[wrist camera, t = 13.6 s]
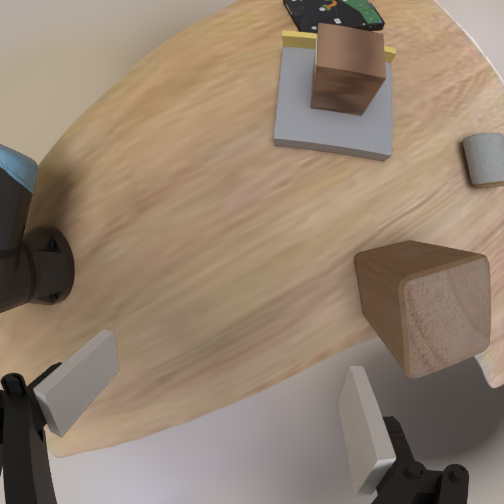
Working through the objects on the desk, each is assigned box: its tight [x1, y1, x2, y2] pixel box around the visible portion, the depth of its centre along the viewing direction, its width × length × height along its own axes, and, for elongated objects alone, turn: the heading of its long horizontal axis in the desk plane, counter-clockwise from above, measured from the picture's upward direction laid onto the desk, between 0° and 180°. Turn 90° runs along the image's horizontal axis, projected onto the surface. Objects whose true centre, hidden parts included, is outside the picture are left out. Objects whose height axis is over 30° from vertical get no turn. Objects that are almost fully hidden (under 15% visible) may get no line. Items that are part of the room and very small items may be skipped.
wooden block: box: [355, 241, 491, 378], centre depth 31 cm, size 10×10×20 cm
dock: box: [274, 31, 396, 161], centre depth 36 cm, size 16×16×7 cm
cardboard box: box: [310, 23, 386, 116], centre depth 29 cm, size 7×6×12 cm
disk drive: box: [283, 0, 385, 34], centre depth 36 cm, size 10×3×15 cm
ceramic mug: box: [462, 133, 504, 188], centre depth 33 cm, size 11×8×8 cm
